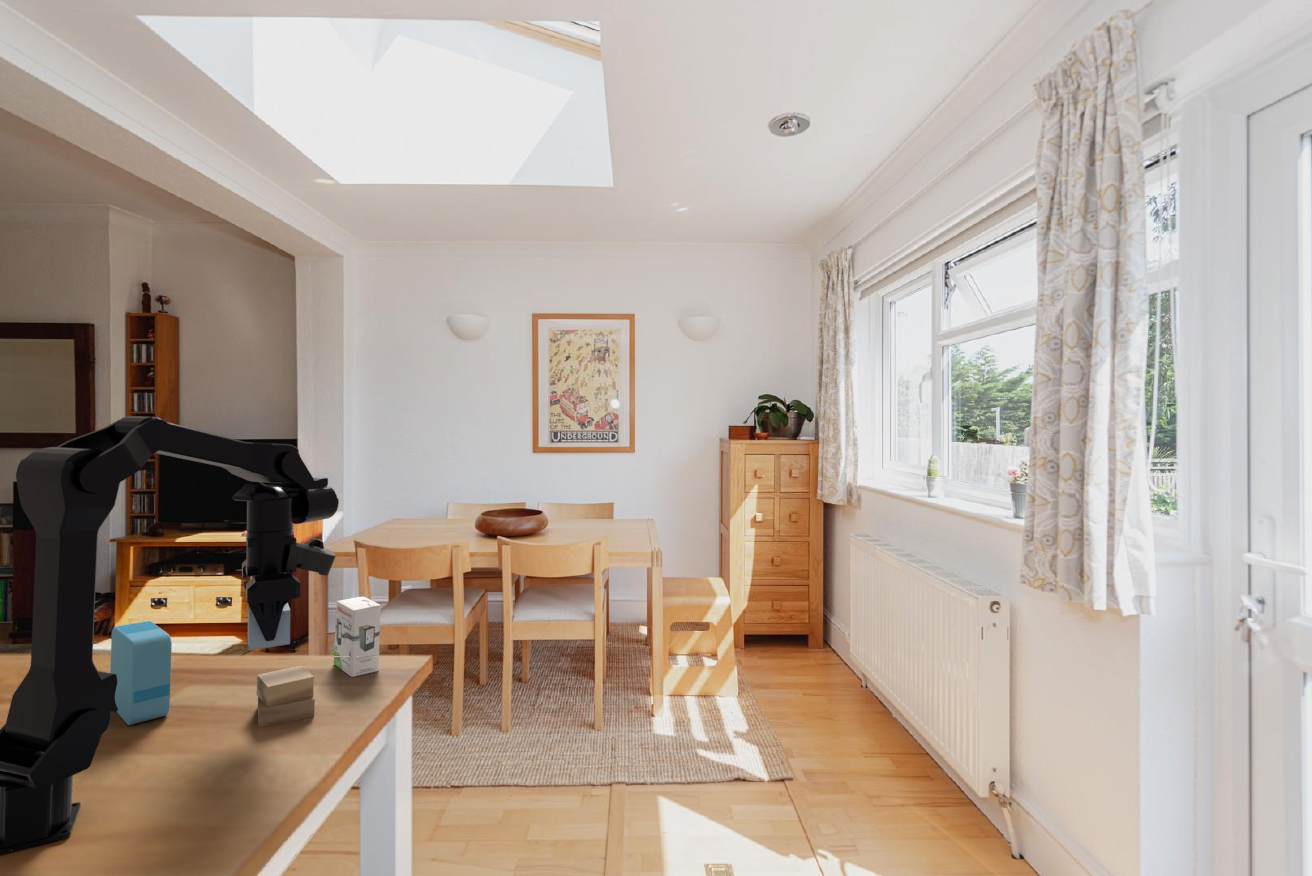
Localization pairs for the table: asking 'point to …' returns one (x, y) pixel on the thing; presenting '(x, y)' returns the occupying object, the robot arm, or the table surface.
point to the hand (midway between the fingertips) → (268, 635)
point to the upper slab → (284, 686)
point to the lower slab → (285, 711)
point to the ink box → (357, 636)
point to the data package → (141, 671)
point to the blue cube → (256, 636)
